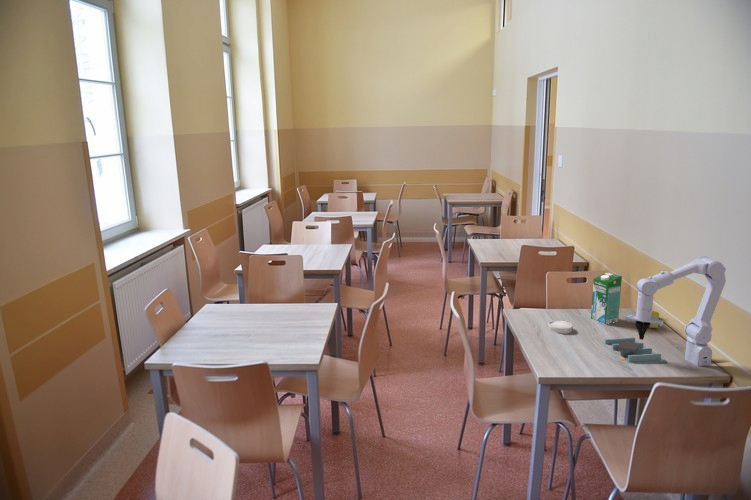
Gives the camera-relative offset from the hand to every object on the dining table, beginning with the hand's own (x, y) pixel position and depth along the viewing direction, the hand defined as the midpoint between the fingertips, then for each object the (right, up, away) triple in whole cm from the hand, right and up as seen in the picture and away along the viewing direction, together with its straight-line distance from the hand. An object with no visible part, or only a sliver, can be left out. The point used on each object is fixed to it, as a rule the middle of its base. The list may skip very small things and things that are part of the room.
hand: (641, 338), depth 219 cm
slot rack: (-1, -8, +8) cm, 11 cm away
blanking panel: (-1, -5, +2) cm, 5 cm away
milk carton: (+4, 0, +45) cm, 45 cm away
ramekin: (-23, -4, +31) cm, 39 cm away
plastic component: (+24, 0, +45) cm, 50 cm away
